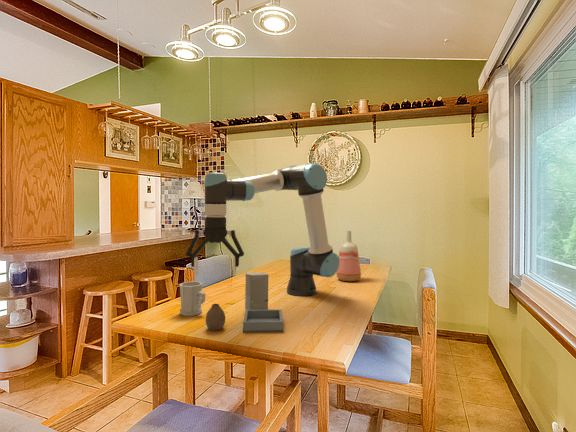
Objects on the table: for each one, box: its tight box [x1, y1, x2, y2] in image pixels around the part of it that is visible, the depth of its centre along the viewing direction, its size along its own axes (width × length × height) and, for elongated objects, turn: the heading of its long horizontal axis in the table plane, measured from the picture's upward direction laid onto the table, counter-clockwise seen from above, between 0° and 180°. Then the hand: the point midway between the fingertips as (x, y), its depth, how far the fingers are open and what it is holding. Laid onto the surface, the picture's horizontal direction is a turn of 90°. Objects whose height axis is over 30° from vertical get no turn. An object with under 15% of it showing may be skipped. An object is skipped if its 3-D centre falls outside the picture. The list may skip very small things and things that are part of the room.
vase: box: [205, 303, 226, 332], centre depth 119 cm, size 7×7×9 cm
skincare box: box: [244, 272, 269, 311], centre depth 140 cm, size 8×7×16 cm
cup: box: [179, 281, 206, 317], centre depth 136 cm, size 10×9×12 cm
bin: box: [242, 308, 284, 333], centre depth 123 cm, size 14×14×4 cm
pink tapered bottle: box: [335, 230, 362, 283], centre depth 199 cm, size 14×14×30 cm
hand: (215, 275), depth 119 cm, fingers open, 13 cm apart
